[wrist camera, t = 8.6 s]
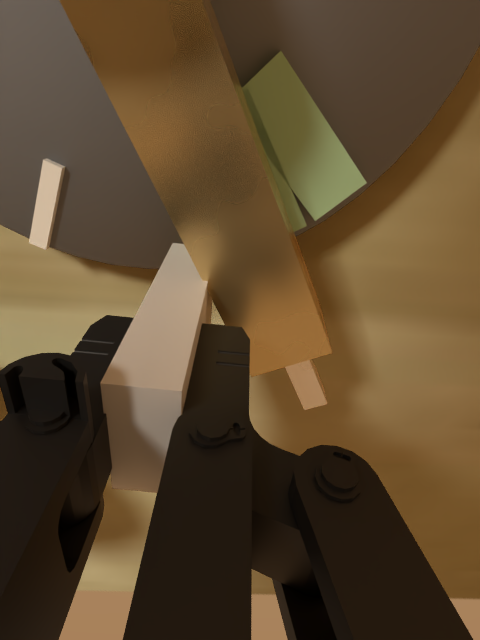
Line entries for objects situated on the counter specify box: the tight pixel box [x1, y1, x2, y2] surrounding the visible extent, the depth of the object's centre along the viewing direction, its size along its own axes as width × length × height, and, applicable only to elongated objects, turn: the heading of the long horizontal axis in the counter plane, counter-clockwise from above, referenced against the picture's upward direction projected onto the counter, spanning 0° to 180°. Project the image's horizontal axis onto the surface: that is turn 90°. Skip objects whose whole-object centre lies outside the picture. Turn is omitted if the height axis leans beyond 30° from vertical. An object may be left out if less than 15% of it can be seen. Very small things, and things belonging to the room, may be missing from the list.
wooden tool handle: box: [59, 0, 332, 410], centre depth 9 cm, size 17×5×6 cm, turn 23°
